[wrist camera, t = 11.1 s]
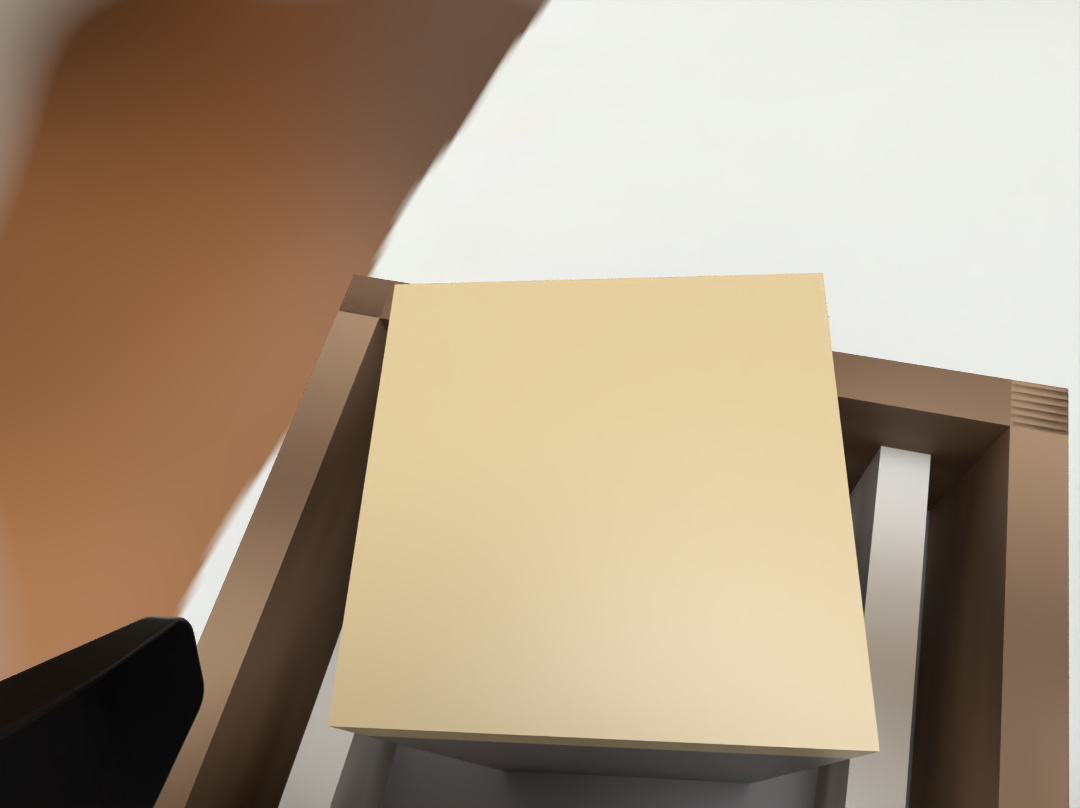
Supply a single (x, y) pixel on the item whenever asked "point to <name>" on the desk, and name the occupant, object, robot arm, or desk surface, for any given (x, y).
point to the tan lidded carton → (609, 533)
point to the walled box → (667, 804)
